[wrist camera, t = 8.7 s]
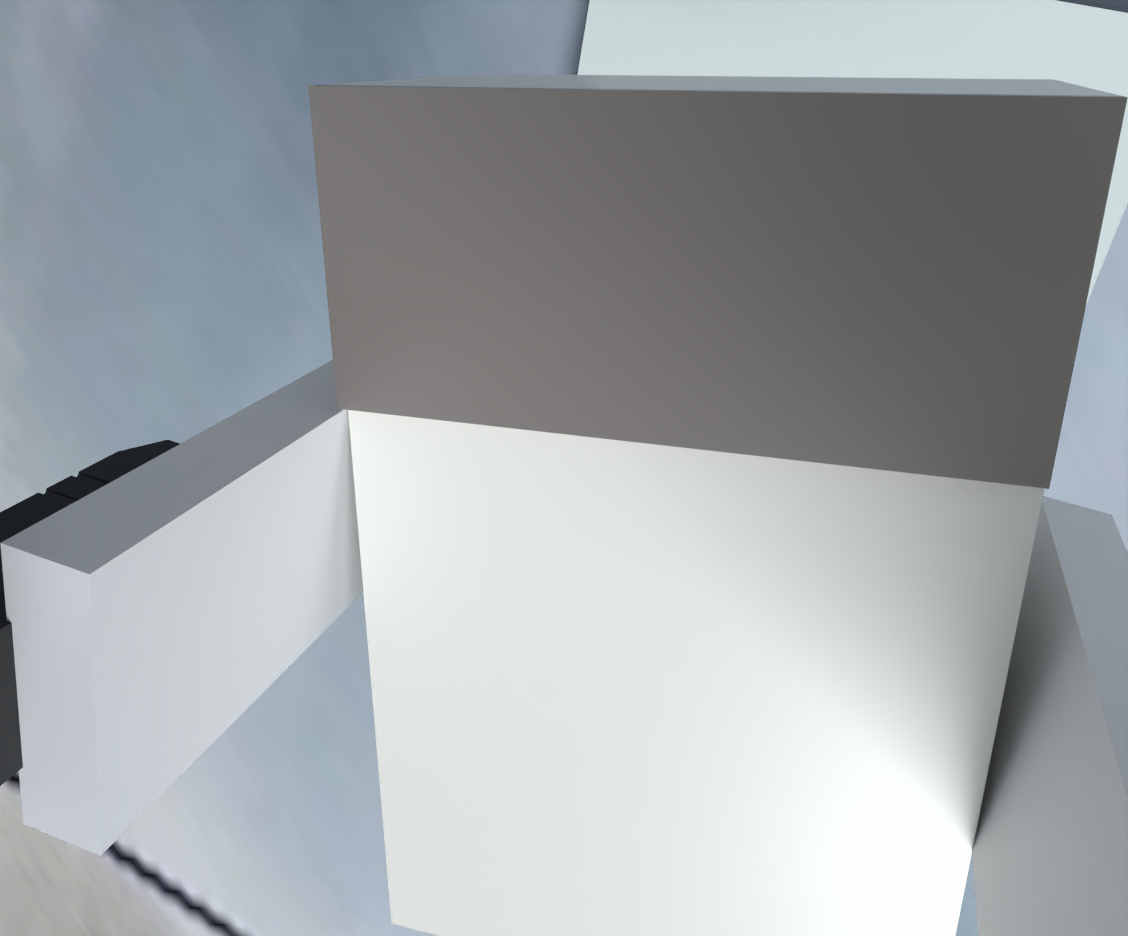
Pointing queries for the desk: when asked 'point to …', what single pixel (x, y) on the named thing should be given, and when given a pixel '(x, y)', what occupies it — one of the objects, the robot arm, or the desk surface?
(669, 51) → the mat
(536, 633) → the card deck box
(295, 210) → the desk surface
